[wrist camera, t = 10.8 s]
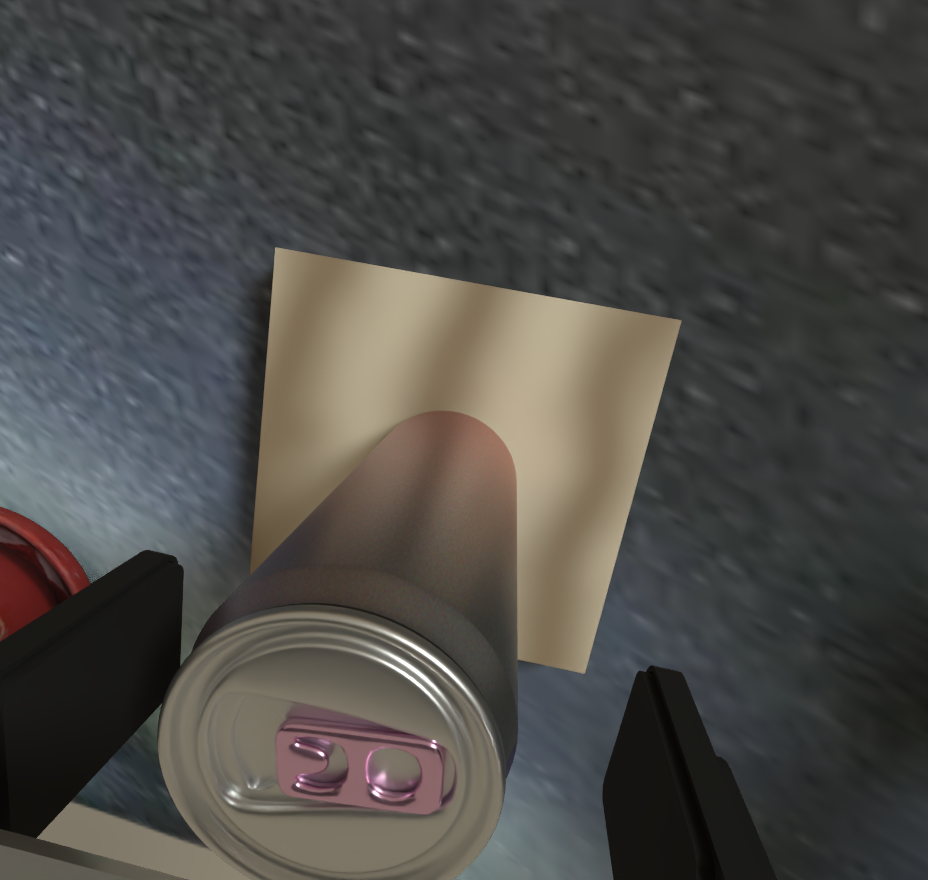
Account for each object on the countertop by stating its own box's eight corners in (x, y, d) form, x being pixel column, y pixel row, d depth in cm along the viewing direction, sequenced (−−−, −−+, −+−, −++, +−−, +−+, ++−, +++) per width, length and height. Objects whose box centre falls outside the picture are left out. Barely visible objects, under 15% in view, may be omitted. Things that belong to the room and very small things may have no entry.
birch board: (664, 318, 23) (681, 320, 20) (578, 641, 27) (584, 673, 25) (299, 252, 24) (275, 247, 21) (269, 577, 28) (247, 602, 25)
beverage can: (510, 547, 23) (502, 944, 9) (375, 534, 24) (158, 891, 9) (522, 412, 22) (535, 626, 7) (378, 401, 22) (125, 581, 8)
